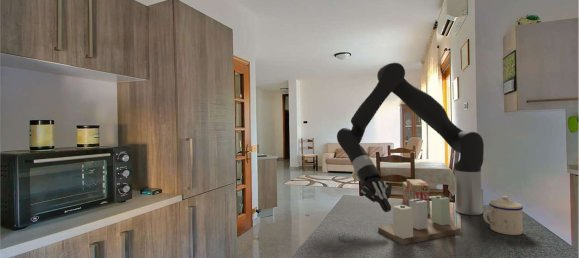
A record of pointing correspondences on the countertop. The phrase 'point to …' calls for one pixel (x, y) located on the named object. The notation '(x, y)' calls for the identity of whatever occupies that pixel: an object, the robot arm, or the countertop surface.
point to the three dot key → (419, 213)
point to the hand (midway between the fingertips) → (388, 210)
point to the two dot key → (440, 210)
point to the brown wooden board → (421, 232)
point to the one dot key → (403, 221)
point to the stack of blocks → (416, 191)
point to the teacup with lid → (505, 216)
